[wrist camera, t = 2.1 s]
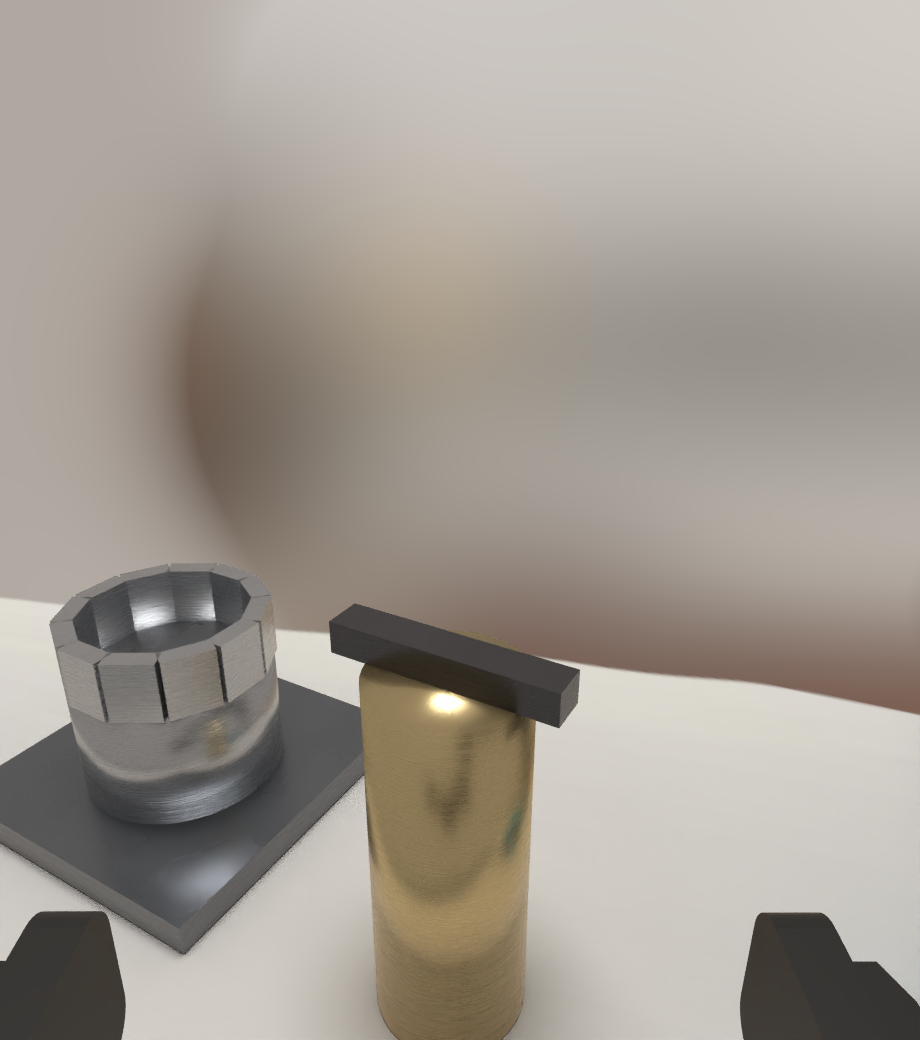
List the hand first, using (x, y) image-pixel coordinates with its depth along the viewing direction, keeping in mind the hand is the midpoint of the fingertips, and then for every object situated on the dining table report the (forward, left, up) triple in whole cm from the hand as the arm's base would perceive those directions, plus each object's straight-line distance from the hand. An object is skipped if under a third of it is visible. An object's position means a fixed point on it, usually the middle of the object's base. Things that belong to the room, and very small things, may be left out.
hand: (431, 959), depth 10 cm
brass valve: (-10, -6, -15) cm, 19 cm away
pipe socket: (-13, -21, -15) cm, 29 cm away
